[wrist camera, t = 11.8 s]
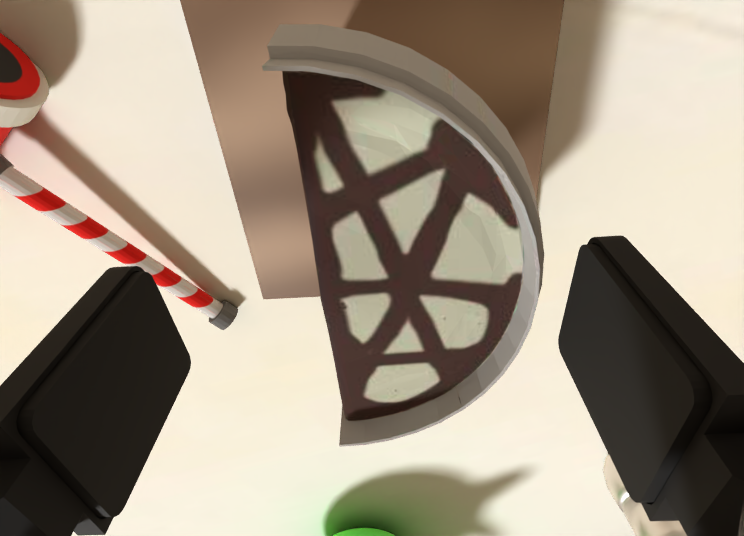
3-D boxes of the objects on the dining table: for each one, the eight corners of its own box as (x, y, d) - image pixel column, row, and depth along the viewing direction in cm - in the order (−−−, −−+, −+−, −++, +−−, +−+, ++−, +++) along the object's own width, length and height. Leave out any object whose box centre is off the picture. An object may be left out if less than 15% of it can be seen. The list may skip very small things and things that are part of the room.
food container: (475, 276, 22) (531, 451, 14) (357, 282, 22) (341, 456, 14) (492, -6, 15) (625, -3, 7) (324, 10, 16) (254, 32, 7)
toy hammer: (285, 270, 31) (264, 328, 26) (191, 345, 35) (156, 408, 30) (-39, -10, 22) (-176, -10, 17) (-112, 138, 26) (-238, 175, 21)
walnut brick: (229, -5, 21) (179, -4, 16) (523, -34, 20) (570, -43, 15) (285, 244, 28) (263, 299, 23) (498, 232, 27) (523, 286, 22)
